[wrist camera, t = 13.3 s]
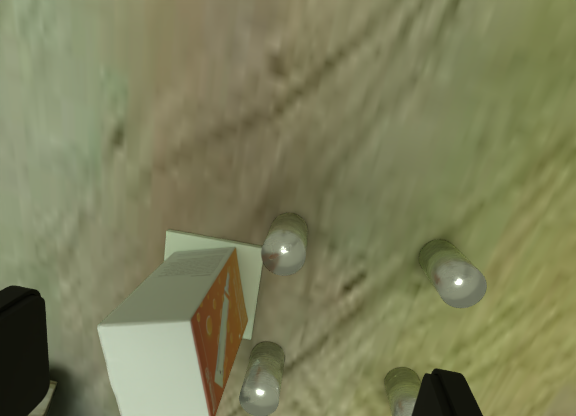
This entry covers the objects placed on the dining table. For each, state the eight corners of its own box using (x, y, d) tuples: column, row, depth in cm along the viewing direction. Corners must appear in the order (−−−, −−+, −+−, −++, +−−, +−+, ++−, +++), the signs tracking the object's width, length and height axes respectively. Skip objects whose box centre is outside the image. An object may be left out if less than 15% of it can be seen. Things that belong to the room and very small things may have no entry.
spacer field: (462, 243, 33) (492, 271, 27) (414, 399, 38) (431, 451, 32) (273, 209, 34) (264, 230, 28) (249, 367, 39) (237, 412, 33)
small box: (249, 320, 36) (213, 430, 24) (188, 324, 37) (122, 432, 25) (237, 244, 34) (190, 320, 22) (173, 249, 35) (91, 326, 23)
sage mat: (265, 246, 35) (264, 248, 34) (251, 336, 38) (250, 339, 37) (168, 229, 35) (166, 231, 35) (162, 319, 38) (159, 322, 37)
